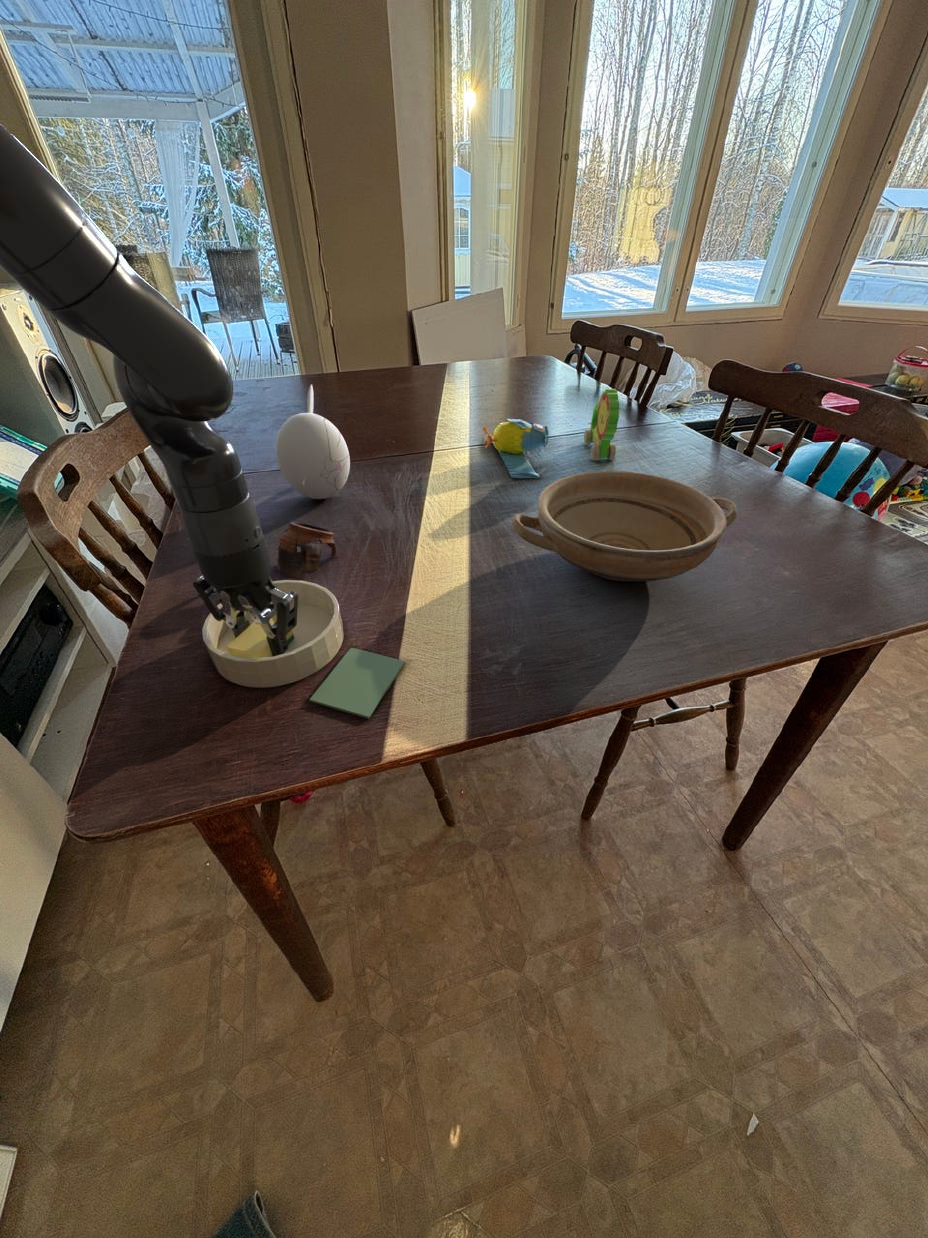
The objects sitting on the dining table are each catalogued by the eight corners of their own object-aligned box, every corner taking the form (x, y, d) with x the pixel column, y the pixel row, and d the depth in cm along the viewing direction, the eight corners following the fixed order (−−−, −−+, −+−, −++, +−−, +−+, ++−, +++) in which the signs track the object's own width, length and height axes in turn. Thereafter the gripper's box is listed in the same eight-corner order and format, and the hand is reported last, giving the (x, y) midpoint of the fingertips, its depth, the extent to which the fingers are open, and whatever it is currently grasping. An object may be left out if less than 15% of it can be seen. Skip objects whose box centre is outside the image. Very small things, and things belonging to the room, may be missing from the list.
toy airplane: (473, 402, 128) (532, 400, 130) (472, 437, 133) (528, 435, 135) (498, 441, 106) (568, 438, 108) (496, 480, 112) (562, 477, 114)
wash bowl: (297, 702, 62) (288, 675, 59) (184, 668, 66) (171, 642, 63) (365, 618, 74) (361, 593, 71) (267, 595, 79) (259, 570, 76)
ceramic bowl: (532, 624, 73) (539, 565, 67) (491, 529, 95) (493, 477, 89) (769, 598, 78) (795, 540, 71) (677, 513, 100) (691, 463, 93)
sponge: (262, 672, 64) (256, 655, 63) (233, 664, 66) (226, 646, 64) (294, 638, 70) (290, 621, 68) (267, 631, 71) (261, 614, 69)
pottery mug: (267, 564, 87) (276, 516, 85) (322, 573, 92) (331, 528, 90) (284, 581, 77) (295, 528, 75) (343, 590, 82) (355, 540, 81)
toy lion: (581, 442, 130) (590, 378, 121) (602, 442, 130) (613, 378, 121) (593, 466, 118) (604, 397, 109) (617, 466, 118) (630, 397, 109)
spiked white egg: (329, 436, 88) (347, 378, 105) (251, 443, 89) (282, 384, 106) (355, 525, 102) (367, 461, 119) (287, 531, 102) (309, 466, 119)
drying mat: (368, 719, 60) (368, 716, 59) (309, 701, 62) (309, 699, 61) (405, 663, 67) (404, 661, 67) (351, 649, 69) (351, 647, 69)
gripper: (150, 540, 56) (200, 655, 67) (258, 564, 52) (293, 682, 63) (199, 511, 62) (239, 621, 72) (300, 530, 58) (326, 644, 68)
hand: (264, 649), depth 67 cm, fingers closed on sponge, 4 cm apart
